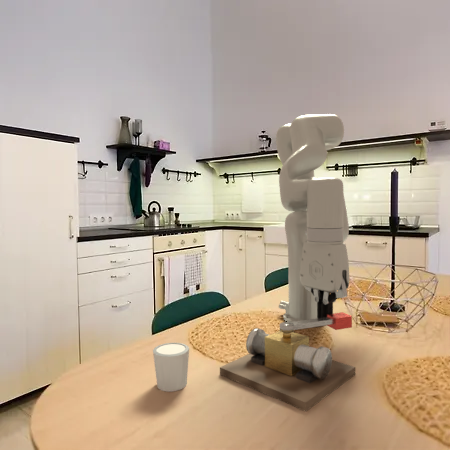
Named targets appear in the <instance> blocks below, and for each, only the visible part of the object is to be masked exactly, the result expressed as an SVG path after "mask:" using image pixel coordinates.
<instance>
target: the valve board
mask: <svg viewBox="0 0 450 450" xmlns="http://www.w3.org/2000/svg"><path fill="white" fill-rule="evenodd" d="M252 356H254V355H251V354H249V353H248V354H246V355H244V356H242V357H239V358H236V359H235V360H232V361H230V362H228V363H225V364H223V365H221V366H219V375H220V376H222V377H225V378H227V379H229V380H232V381H234V382H237V383H239V384H241V385H243V386H246V387H248V388H251V389H253V390H255V391H258V392H260V393H262V394H264V395H267V396H269V397H271V398H273V399H276V400H278V401H280V402H283V403H285V404H288V405H290V406H293V407H294V408H297V409H299V410H302V411H304V412H307V411H309V410H310V409H311V408H312V407H314V406H316V405H317V404H318V403H319V402H321V401H322V400H323V399H324V398H326V397H327V396H329V395H330V394H332V393H333V392H334V391H335V390H337V389H338V388H340V386H342V385H343V384H345V383H346V382H347V381H348V380H350V379H351V378H353V377H354V376H355V375H356V366H352V365H349V364H346V363H343V362H340V361H337V360H333V359H332V364H331V368H330V371H329V373H328V375H327V376H326V377H325V378H324V379H320V378H318V379H316V380H315V381H313V382H311V383H308V382H305V381H302V380H300V379H297V378H296V374H295V375H293V376H290V375H287V374H284V373H282V372H279V371H276V370H273V369H271V368H268V367H265V365H263V366H261V365H259V364H256V363H253V362H251V357H252Z"/></svg>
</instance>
